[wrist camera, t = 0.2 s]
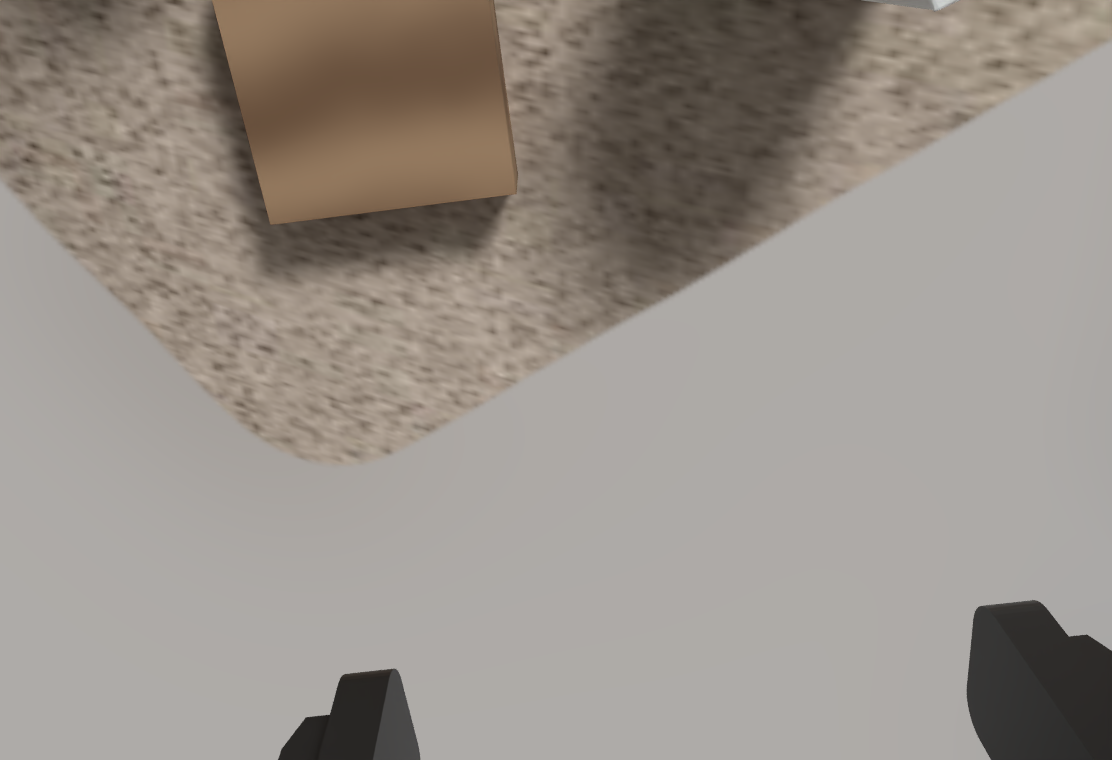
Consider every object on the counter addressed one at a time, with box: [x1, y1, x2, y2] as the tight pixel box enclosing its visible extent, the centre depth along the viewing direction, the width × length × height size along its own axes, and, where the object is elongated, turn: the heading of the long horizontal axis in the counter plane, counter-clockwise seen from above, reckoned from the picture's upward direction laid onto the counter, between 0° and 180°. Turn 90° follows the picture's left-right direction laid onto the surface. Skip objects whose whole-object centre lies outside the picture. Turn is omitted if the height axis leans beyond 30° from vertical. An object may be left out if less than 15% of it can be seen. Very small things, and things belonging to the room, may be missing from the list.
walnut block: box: [212, 0, 518, 225], centre depth 36 cm, size 10×10×4 cm
